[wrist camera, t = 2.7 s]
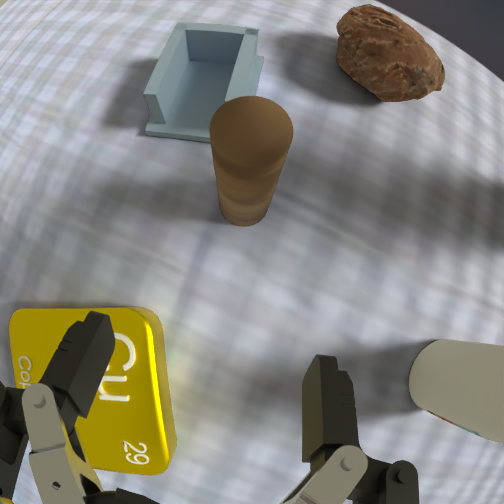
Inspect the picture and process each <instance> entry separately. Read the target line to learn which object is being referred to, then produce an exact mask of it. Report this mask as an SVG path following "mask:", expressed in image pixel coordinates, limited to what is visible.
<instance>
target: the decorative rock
mask: <svg viewBox="0 0 504 504" xmlns="http://www.w3.org/2000/svg"><path fill="white" fill-rule="evenodd" d="M337 32H338V34H339V35H340V36H339V38H338V48H337V55H336V60H337V62H338V64H339V66H340V67H341V68H342V69H343V70H344V71H345V72H346V73H347V74H348V75H349V76H350V77H351V78H352V79H353V80H355V81H356V82H358V83H359V84H361V85H362V86H363V87H365V88H366V89H368V90H369V91H370V92H371V93H374V94H375V95H376V96H377V97H378V98H379V99H380V100H382V101H383V102H401V101H407V100H411V99H421V98H423V97H425V96H426V95H428V94H429V93H431V92H432V91H440V90H441V89H442V85H443V83H444V79H445V70H444V66H443V64H442V62H441V60H440V59H439V57H438V56H437V54H436V52H435V51H434V50H433V48H432V47H431V46H430V45H429V44H427V43H426V42H425V40H424V38H423V36H421V35H420V34H419V33H418V32H417V31H416V30H415V29H414V28H412V27H411V26H409V25H408V24H407V23H405V22H404V21H402V20H401V19H400V18H399V17H397V16H396V15H394V14H392V13H389V12H387V11H385V10H384V9H382V8H381V7H376V6H372V5H371V4H367V5H362V6H359V7H353V8H351V9H350V10H349V11H348V12H347V13H346V14H344V15H343V17H342V18H341V19H340V20H339V22H338V23H337Z"/></svg>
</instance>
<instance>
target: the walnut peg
mask: <svg viewBox="0 0 504 504" xmlns="http://www.w3.org/2000/svg"><path fill="white" fill-rule="evenodd" d="M209 132H210V140H211V147H212V155H213V162H214V169H215V176H216V183H217V189H218V196H219V203H220V209H221V212H222V214H223V215H224V217H225V218H226V219H227V220H228V221H229V222H231V223H232V224H235V225H238V226H251V225H254V224H256V223H258V222H259V221H260V220H261V219H262V218H263V217H264V216H265V214H266V212H267V210H268V207H269V204H270V201H271V198H272V196H273V193H274V190H275V187H276V184H277V181H278V179H279V176H280V173H281V170H282V167H283V164H284V161H285V159H286V156H287V153H288V150H289V147H290V144H291V142H292V138H293V126H292V122H291V119H290V117H289V116H288V114H287V113H286V111H285V110H284V109H283V108H282V107H280V106H279V105H278V104H276V103H275V102H273V101H271V100H269V99H266V98H263V97H258V96H242V97H238V98H234V99H232V100H229V101H228V102H226V103H224V104H223V105H221V106H220V107H219V108H218V109H217V111H216V112H215V113H214V115H213V117H212V119H211V122H210V128H209Z"/></svg>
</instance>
